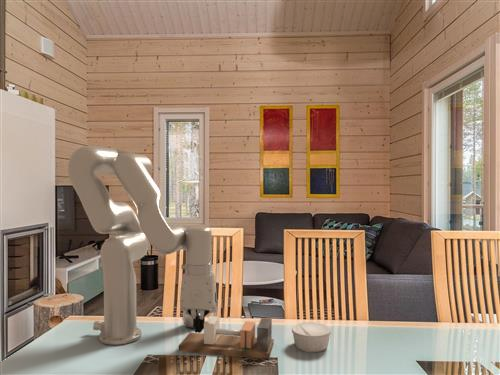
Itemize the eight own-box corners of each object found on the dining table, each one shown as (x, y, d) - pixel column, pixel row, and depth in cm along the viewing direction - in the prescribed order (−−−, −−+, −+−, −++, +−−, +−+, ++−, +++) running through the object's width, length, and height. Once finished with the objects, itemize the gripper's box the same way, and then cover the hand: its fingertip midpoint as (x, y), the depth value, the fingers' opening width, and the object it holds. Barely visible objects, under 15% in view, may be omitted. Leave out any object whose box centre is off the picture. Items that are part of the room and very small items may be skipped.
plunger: (203, 343, 119) (203, 323, 119) (209, 335, 125) (209, 316, 125) (239, 346, 117) (239, 325, 117) (243, 338, 123) (244, 318, 123)
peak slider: (239, 349, 115) (239, 331, 115) (245, 337, 123) (245, 321, 123) (250, 350, 115) (250, 332, 114) (255, 338, 123) (255, 322, 123)
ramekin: (284, 346, 122) (284, 328, 122) (306, 335, 130) (306, 319, 130) (316, 358, 115) (316, 339, 114) (337, 345, 123) (337, 328, 123)
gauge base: (178, 350, 118) (178, 323, 118) (189, 337, 128) (189, 311, 128) (268, 358, 114) (269, 330, 113) (273, 344, 123) (273, 317, 123)
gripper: (169, 270, 119) (170, 334, 120) (220, 273, 117) (220, 337, 117) (179, 265, 127) (179, 324, 127) (226, 267, 124) (226, 328, 125)
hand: (199, 330), depth 122 cm, fingers closed
